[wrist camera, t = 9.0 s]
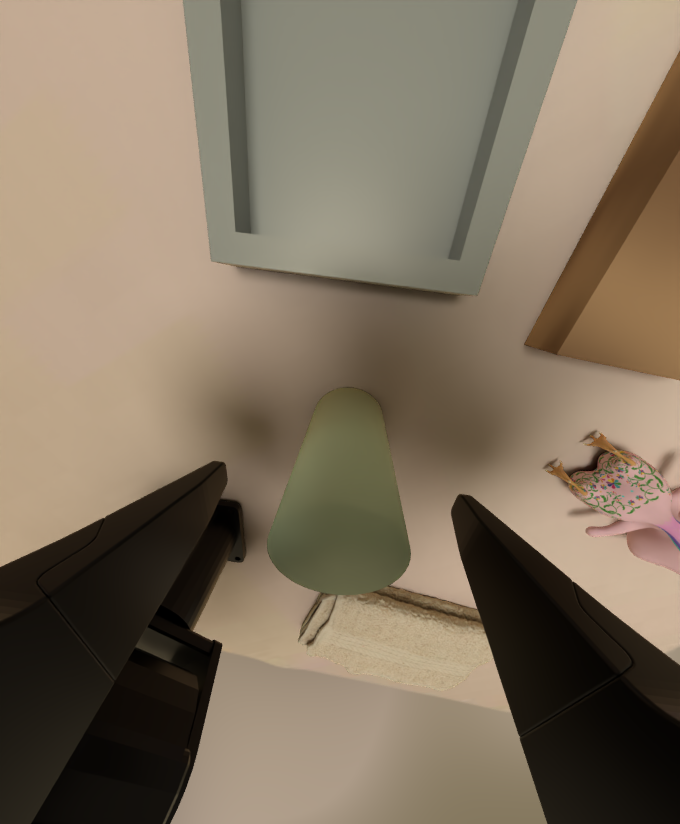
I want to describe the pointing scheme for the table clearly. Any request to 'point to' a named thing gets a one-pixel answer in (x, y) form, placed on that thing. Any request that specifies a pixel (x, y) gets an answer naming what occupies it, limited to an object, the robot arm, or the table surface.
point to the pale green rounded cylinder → (342, 503)
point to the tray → (367, 131)
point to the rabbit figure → (631, 503)
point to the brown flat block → (627, 259)
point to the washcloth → (397, 637)
